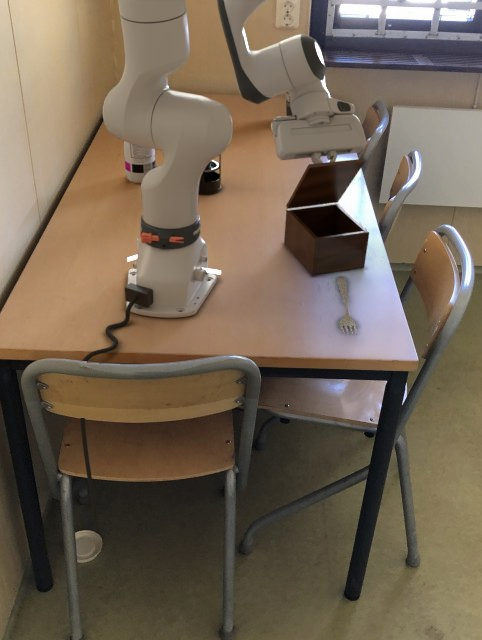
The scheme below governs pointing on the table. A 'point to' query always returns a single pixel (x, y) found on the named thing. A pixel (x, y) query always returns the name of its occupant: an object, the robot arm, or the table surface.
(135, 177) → the supplement can
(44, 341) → the table surface
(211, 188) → the french press
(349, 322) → the fork
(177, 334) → the table surface
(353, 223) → the box
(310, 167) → the lid
